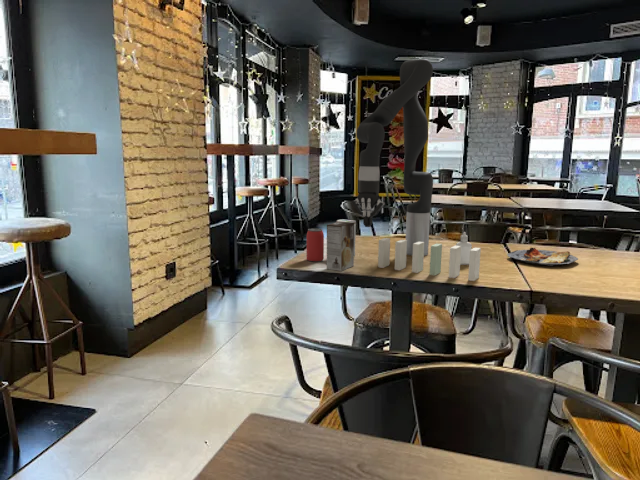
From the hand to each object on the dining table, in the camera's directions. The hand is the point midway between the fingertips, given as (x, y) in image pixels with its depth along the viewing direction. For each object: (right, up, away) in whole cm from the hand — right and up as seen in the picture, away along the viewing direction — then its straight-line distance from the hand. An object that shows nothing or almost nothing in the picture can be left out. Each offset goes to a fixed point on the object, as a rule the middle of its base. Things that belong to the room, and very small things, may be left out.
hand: (367, 226), depth 180 cm
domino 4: (+28, -17, -15) cm, 36 cm away
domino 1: (+6, -14, -1) cm, 16 cm away
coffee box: (-10, -15, -4) cm, 19 cm away
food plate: (+69, -13, +10) cm, 71 cm away
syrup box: (-7, -12, +15) cm, 21 cm away
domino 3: (+17, -16, -8) cm, 24 cm away
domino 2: (+11, -15, -4) cm, 19 cm away
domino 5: (+33, -18, -18) cm, 42 cm away
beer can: (-19, -13, +8) cm, 24 cm away
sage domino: (+22, -16, -11) cm, 30 cm away
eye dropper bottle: (+36, -14, +3) cm, 39 cm away
